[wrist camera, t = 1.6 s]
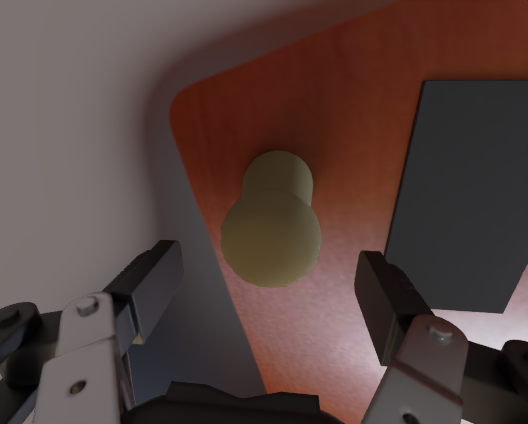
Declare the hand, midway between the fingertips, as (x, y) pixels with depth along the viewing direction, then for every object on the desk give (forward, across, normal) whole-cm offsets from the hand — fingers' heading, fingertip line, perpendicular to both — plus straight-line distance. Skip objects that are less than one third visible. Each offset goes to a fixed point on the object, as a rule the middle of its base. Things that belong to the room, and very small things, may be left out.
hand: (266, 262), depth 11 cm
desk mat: (+11, -16, +2) cm, 20 cm away
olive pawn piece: (+12, 0, 0) cm, 12 cm away
